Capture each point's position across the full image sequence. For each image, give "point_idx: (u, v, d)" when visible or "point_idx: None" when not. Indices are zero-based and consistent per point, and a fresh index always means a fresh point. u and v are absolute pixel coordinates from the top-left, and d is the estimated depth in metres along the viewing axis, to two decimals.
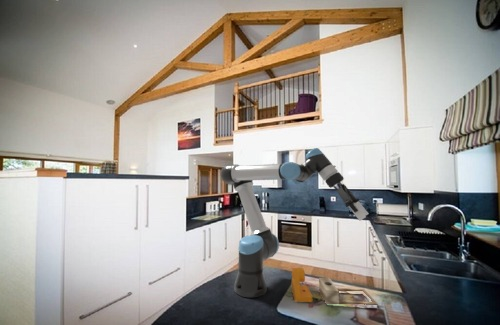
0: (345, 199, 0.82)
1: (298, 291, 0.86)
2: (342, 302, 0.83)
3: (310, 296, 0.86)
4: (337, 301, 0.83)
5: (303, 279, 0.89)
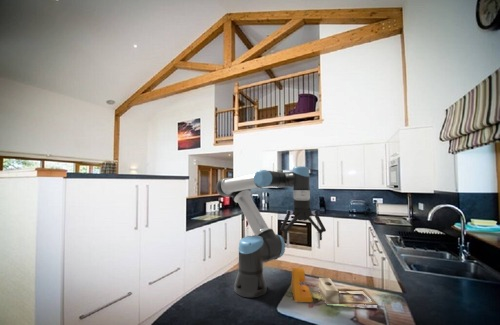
0: (281, 226, 0.94)
1: (298, 291, 0.86)
2: (342, 302, 0.83)
3: (310, 296, 0.86)
4: (337, 301, 0.83)
5: (303, 279, 0.89)
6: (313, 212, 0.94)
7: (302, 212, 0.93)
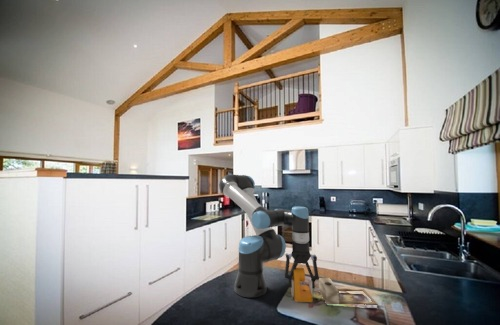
0: (285, 272, 0.92)
1: (298, 291, 0.86)
2: (342, 302, 0.83)
3: (310, 296, 0.86)
4: (337, 301, 0.83)
5: (303, 279, 0.89)
6: (312, 256, 0.91)
7: None
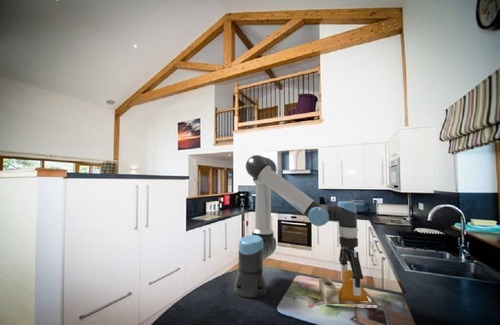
0: (358, 273, 0.81)
1: None
2: (342, 302, 0.83)
3: None
4: (337, 301, 0.83)
5: None
6: None
7: None
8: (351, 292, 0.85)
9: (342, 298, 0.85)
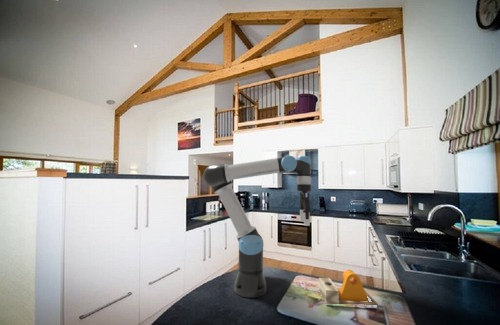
0: (307, 207, 1.03)
1: None
2: (342, 302, 0.83)
3: None
4: (337, 301, 0.83)
5: None
6: None
7: None
8: (351, 292, 0.85)
9: (342, 298, 0.85)
